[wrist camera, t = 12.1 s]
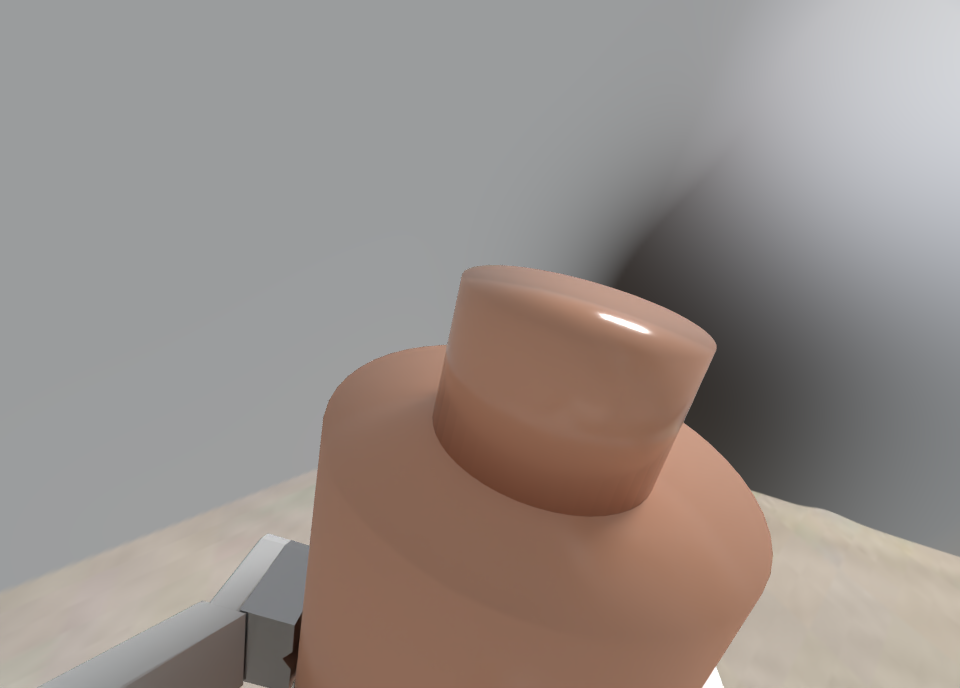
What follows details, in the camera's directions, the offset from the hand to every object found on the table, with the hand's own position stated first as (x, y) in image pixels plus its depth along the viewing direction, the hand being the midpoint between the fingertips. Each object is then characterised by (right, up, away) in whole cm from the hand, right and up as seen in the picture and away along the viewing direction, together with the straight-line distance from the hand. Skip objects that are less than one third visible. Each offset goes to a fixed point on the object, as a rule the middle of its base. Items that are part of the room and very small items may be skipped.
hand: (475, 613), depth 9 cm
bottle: (-2, -8, +2) cm, 8 cm away
